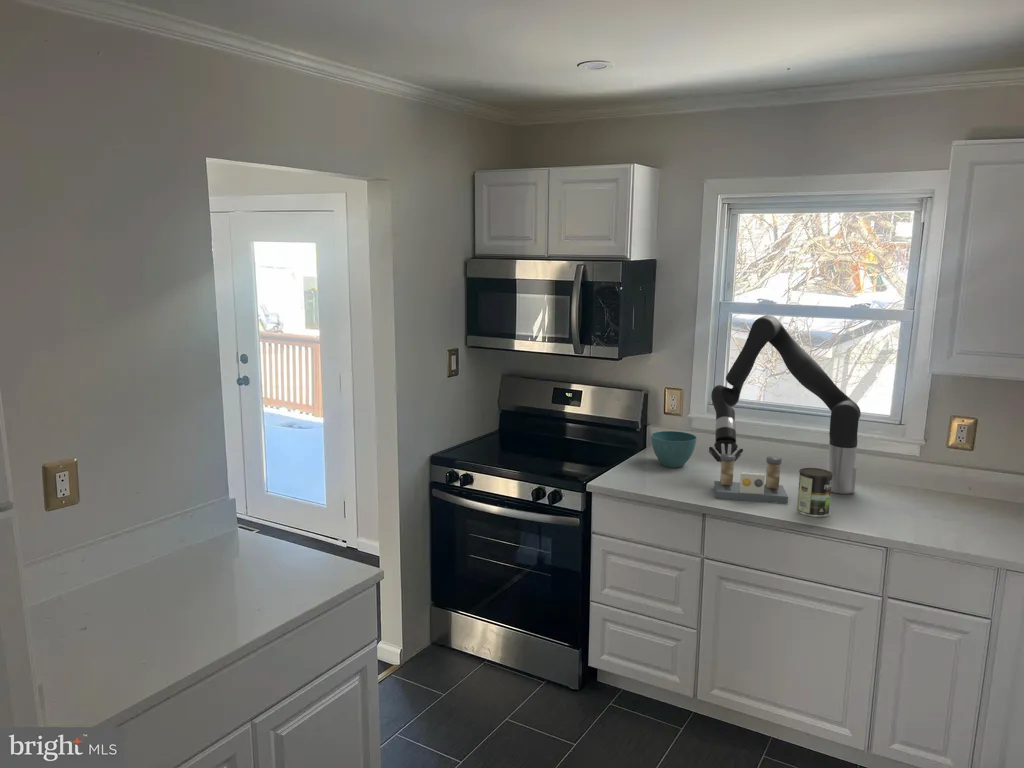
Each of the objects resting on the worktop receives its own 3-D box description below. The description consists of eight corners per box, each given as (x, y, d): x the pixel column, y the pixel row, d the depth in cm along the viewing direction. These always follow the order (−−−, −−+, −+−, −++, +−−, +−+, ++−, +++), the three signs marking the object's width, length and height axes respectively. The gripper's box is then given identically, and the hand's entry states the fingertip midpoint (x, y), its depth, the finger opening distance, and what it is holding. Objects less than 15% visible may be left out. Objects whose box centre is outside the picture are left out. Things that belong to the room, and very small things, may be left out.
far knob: (733, 481, 272) (734, 454, 270) (734, 486, 267) (736, 457, 265) (718, 480, 273) (720, 453, 271) (719, 485, 268) (721, 456, 266)
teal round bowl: (641, 461, 307) (642, 433, 305) (676, 456, 315) (678, 429, 312) (667, 473, 291) (669, 443, 289) (704, 468, 298) (706, 438, 296)
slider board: (781, 492, 269) (783, 466, 267) (787, 503, 256) (789, 477, 255) (714, 487, 274) (715, 462, 272) (716, 498, 261) (717, 472, 260)
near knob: (778, 485, 268) (780, 456, 266) (780, 489, 263) (782, 460, 261) (763, 483, 269) (765, 455, 268) (765, 488, 264) (767, 459, 262)
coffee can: (832, 511, 249) (836, 471, 247) (824, 519, 241) (828, 478, 239) (801, 504, 255) (804, 465, 253) (792, 512, 247) (795, 472, 245)
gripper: (708, 425, 280) (708, 465, 270) (744, 427, 277) (745, 467, 268) (707, 435, 286) (706, 474, 276) (742, 437, 284) (743, 477, 274)
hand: (726, 471), depth 272 cm, fingers closed
